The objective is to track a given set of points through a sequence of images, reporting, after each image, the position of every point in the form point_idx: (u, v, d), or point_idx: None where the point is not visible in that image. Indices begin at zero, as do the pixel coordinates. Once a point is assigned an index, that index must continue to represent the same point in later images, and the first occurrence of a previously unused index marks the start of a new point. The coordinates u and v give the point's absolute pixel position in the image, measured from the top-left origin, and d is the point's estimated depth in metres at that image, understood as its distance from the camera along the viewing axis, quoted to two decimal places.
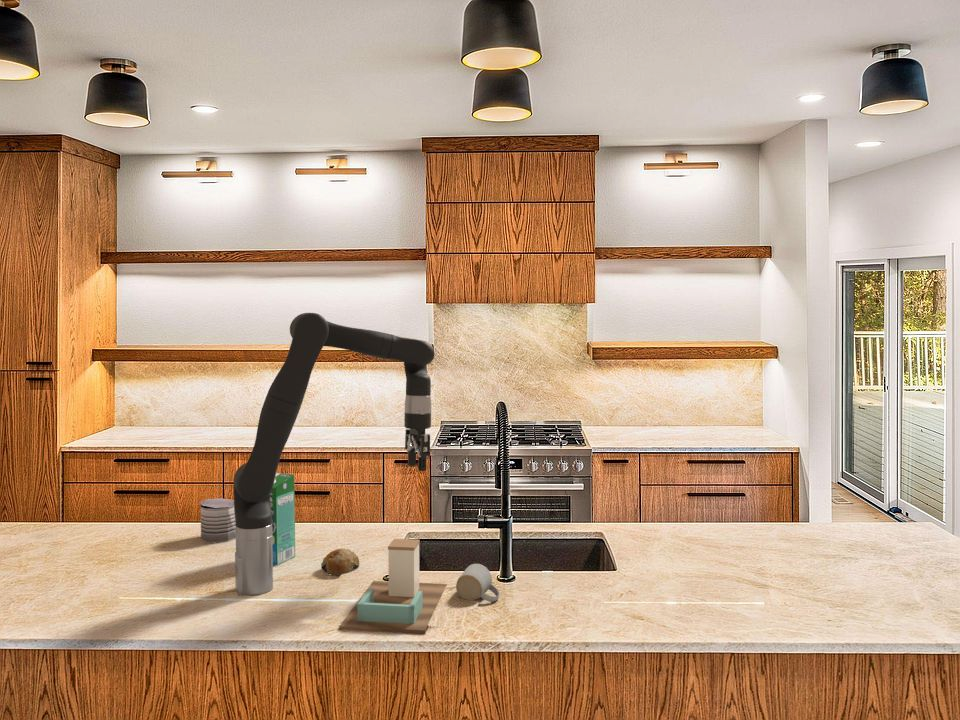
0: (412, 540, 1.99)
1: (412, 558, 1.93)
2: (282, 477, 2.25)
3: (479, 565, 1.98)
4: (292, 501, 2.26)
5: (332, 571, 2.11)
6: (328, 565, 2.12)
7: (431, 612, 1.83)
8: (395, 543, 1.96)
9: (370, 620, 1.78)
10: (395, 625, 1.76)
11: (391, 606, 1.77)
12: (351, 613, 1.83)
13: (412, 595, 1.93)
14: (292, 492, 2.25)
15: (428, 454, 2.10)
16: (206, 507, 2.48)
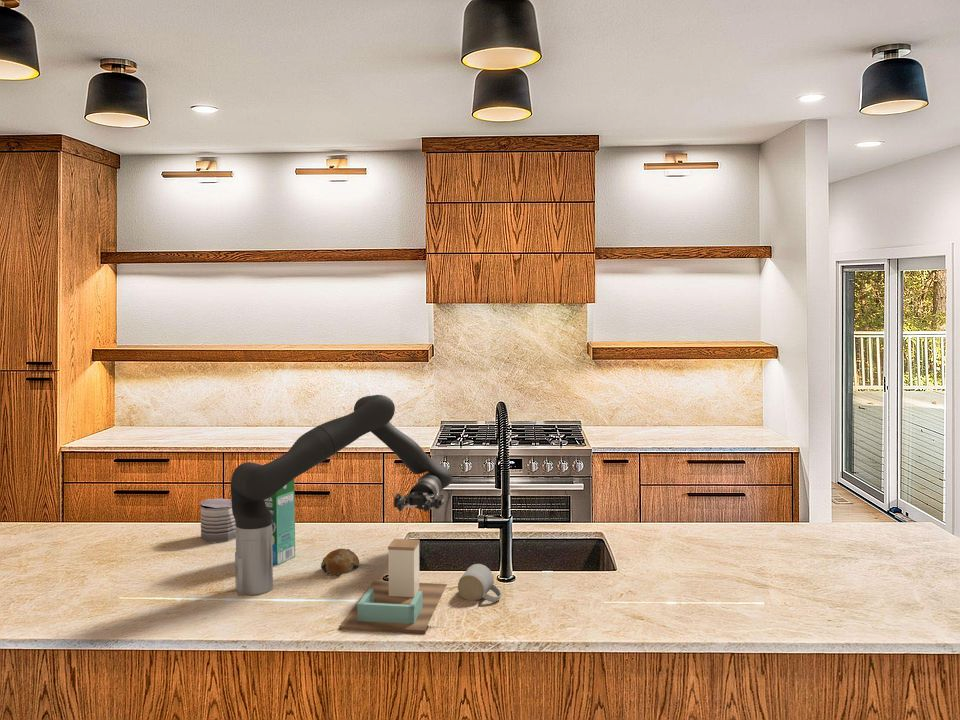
0: (412, 540, 1.99)
1: (412, 558, 1.93)
2: None
3: (481, 565, 1.97)
4: (292, 501, 2.26)
5: (332, 571, 2.11)
6: (328, 565, 2.12)
7: (431, 612, 1.83)
8: (395, 543, 1.96)
9: (370, 620, 1.78)
10: (395, 625, 1.76)
11: (391, 606, 1.77)
12: (351, 613, 1.83)
13: (412, 595, 1.93)
14: (292, 492, 2.25)
15: (438, 506, 2.10)
16: (206, 507, 2.48)
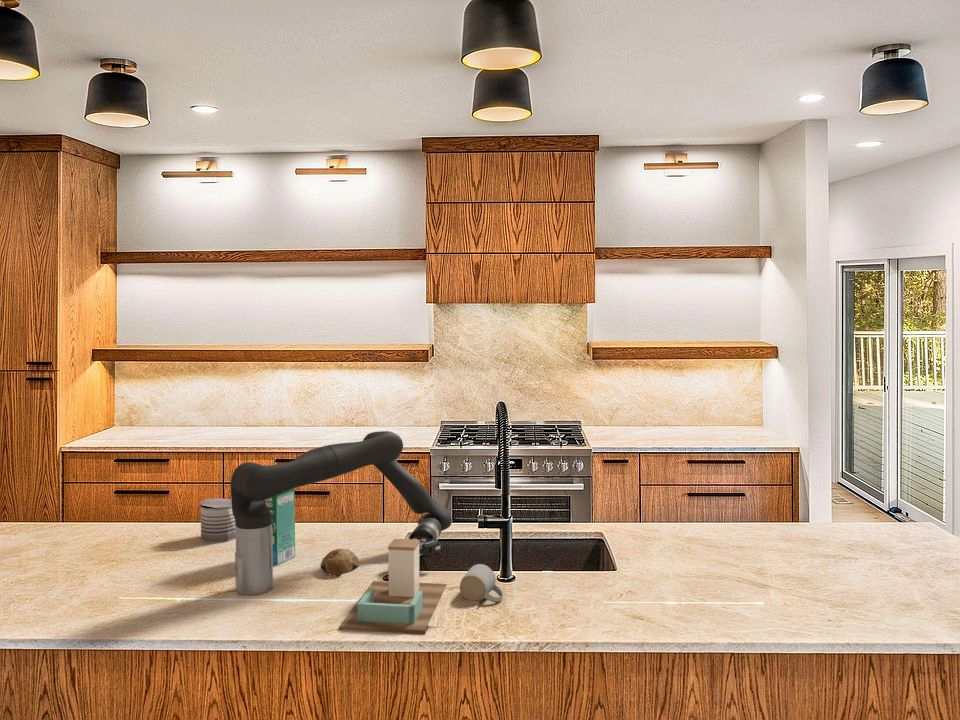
0: (412, 540, 1.99)
1: (412, 558, 1.93)
2: None
3: (483, 565, 1.97)
4: (292, 501, 2.26)
5: (331, 571, 2.11)
6: (327, 565, 2.12)
7: (431, 612, 1.83)
8: (395, 543, 1.96)
9: (370, 620, 1.78)
10: (395, 625, 1.76)
11: (391, 606, 1.77)
12: (351, 613, 1.83)
13: (412, 595, 1.93)
14: (292, 492, 2.25)
15: (425, 553, 2.11)
16: (206, 507, 2.48)
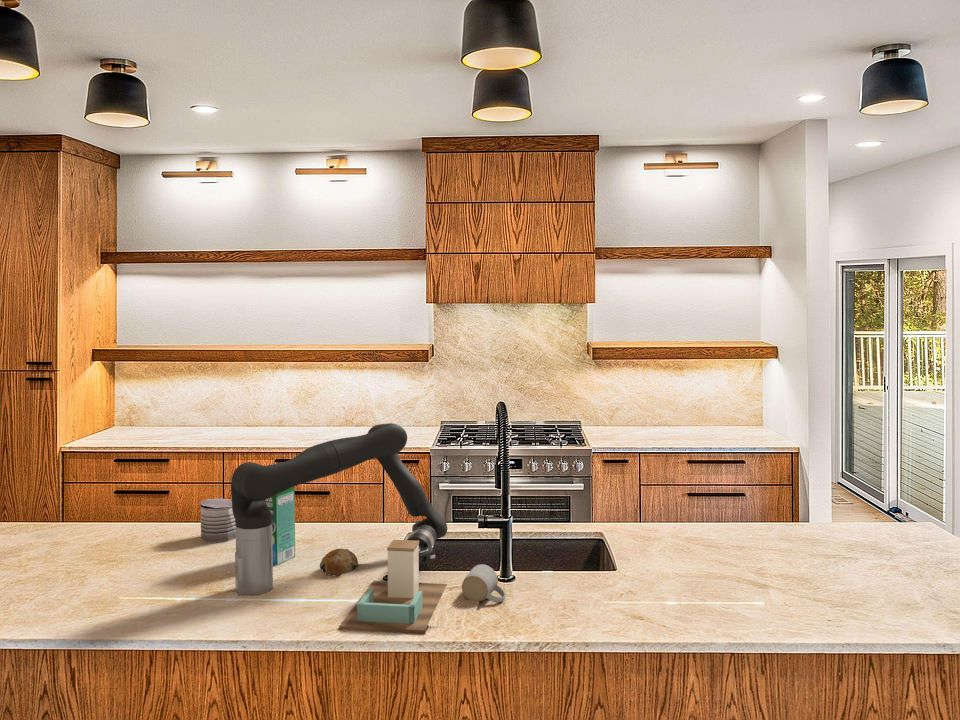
0: (411, 541, 1.98)
1: (411, 559, 1.92)
2: None
3: (485, 566, 1.97)
4: (292, 501, 2.26)
5: (331, 571, 2.11)
6: (327, 565, 2.12)
7: (431, 612, 1.83)
8: (394, 544, 1.95)
9: (370, 620, 1.78)
10: (395, 625, 1.76)
11: (391, 606, 1.77)
12: (351, 613, 1.83)
13: (411, 596, 1.92)
14: (292, 492, 2.25)
15: (420, 562, 2.03)
16: (206, 507, 2.48)
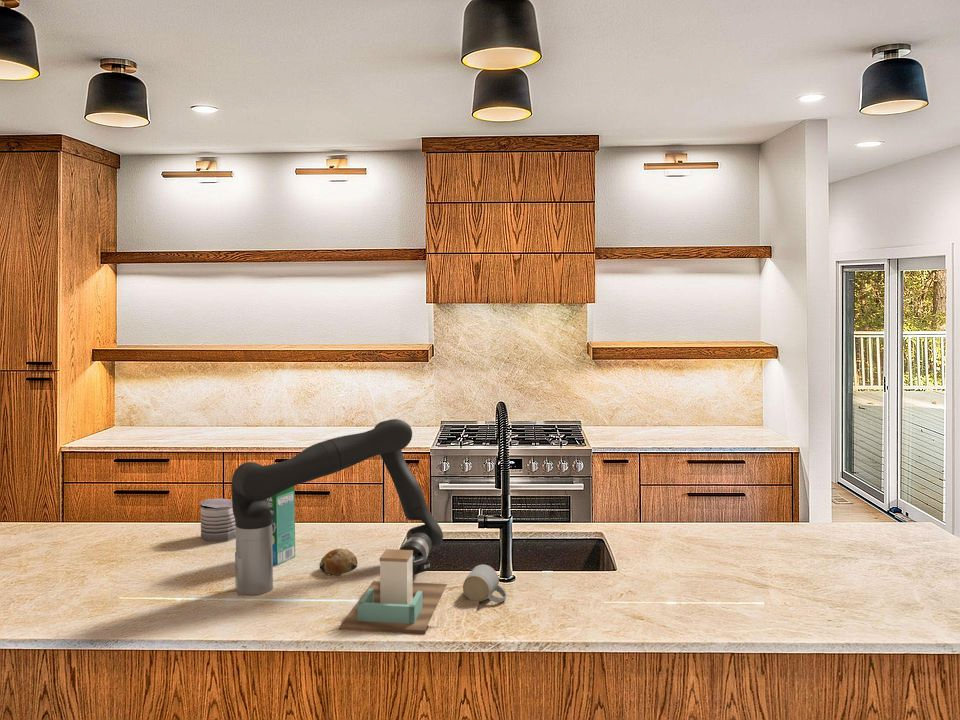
0: (405, 551, 1.90)
1: (405, 570, 1.84)
2: None
3: (486, 566, 1.97)
4: (292, 501, 2.26)
5: (330, 571, 2.11)
6: (326, 565, 2.12)
7: (431, 612, 1.83)
8: (387, 554, 1.87)
9: (370, 620, 1.78)
10: (395, 625, 1.76)
11: (391, 606, 1.77)
12: (351, 613, 1.83)
13: None
14: (292, 492, 2.25)
15: (414, 572, 1.95)
16: (206, 507, 2.48)
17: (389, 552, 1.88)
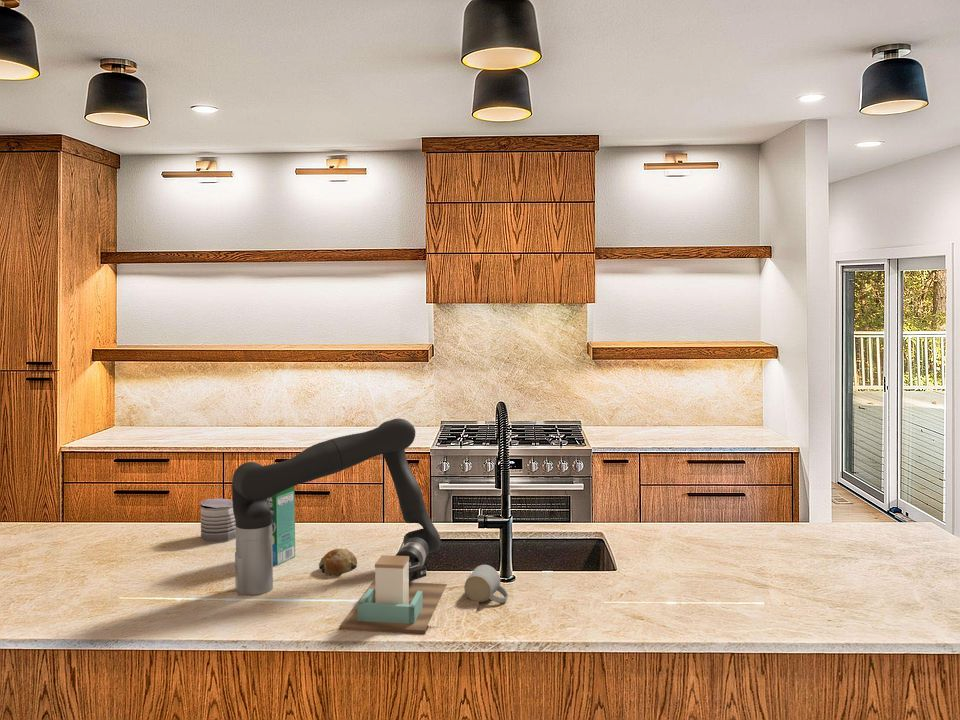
0: (401, 557, 1.85)
1: (401, 577, 1.79)
2: None
3: (487, 566, 1.97)
4: (292, 501, 2.26)
5: (330, 571, 2.11)
6: (326, 565, 2.12)
7: (431, 612, 1.83)
8: (382, 560, 1.82)
9: (370, 620, 1.78)
10: (395, 625, 1.76)
11: (391, 606, 1.77)
12: (351, 613, 1.83)
13: None
14: (292, 492, 2.25)
15: (410, 579, 1.91)
16: (206, 507, 2.48)
17: (385, 558, 1.84)
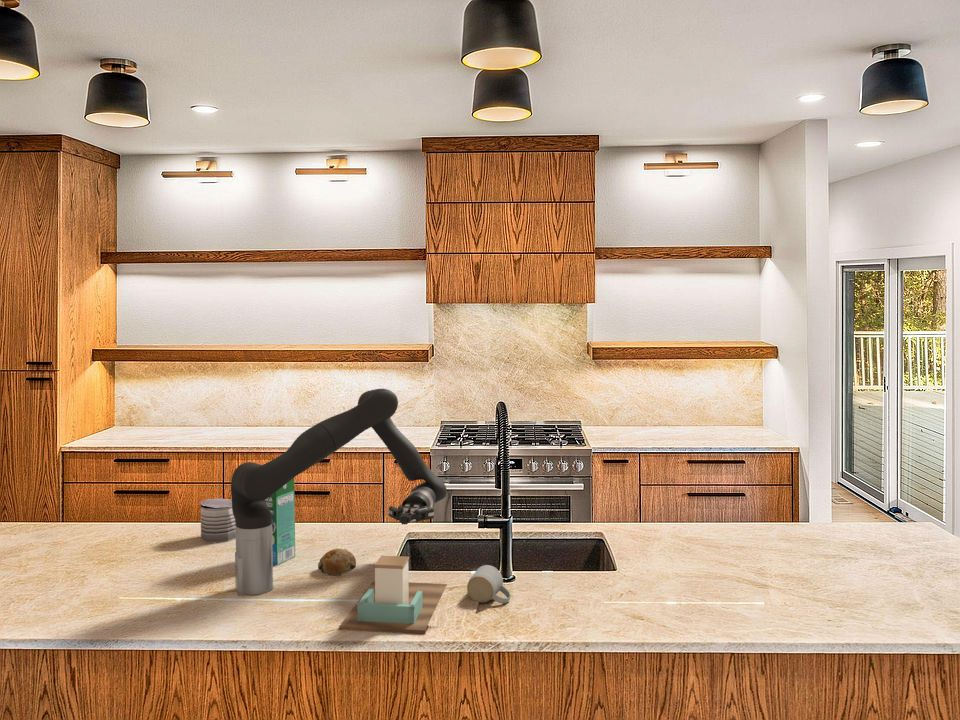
0: (401, 557, 1.85)
1: (400, 577, 1.79)
2: None
3: (490, 566, 1.96)
4: (292, 501, 2.26)
5: (329, 571, 2.11)
6: (325, 565, 2.12)
7: (431, 612, 1.83)
8: (382, 561, 1.82)
9: (370, 620, 1.78)
10: (395, 625, 1.76)
11: (391, 606, 1.77)
12: (351, 613, 1.83)
13: None
14: (292, 492, 2.25)
15: (418, 519, 2.01)
16: (206, 507, 2.48)
17: (384, 559, 1.83)
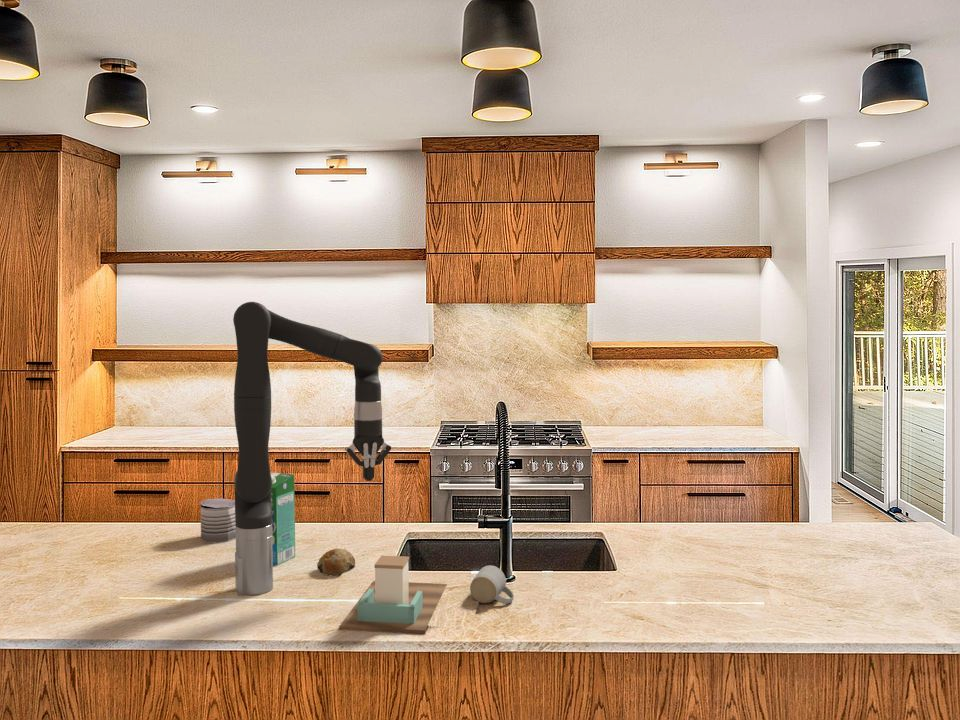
0: (401, 557, 1.85)
1: (400, 577, 1.79)
2: (282, 477, 2.25)
3: (493, 567, 1.96)
4: (292, 501, 2.26)
5: (328, 571, 2.11)
6: (324, 565, 2.12)
7: (431, 612, 1.83)
8: (382, 561, 1.82)
9: (370, 620, 1.78)
10: (395, 625, 1.76)
11: (391, 606, 1.77)
12: (351, 613, 1.83)
13: None
14: (292, 492, 2.25)
15: None
16: (206, 507, 2.48)
17: (384, 559, 1.83)
